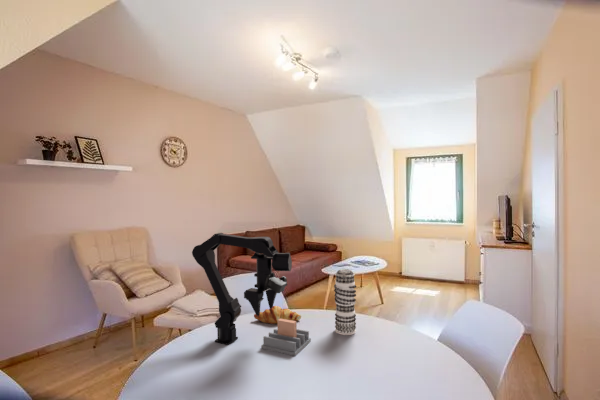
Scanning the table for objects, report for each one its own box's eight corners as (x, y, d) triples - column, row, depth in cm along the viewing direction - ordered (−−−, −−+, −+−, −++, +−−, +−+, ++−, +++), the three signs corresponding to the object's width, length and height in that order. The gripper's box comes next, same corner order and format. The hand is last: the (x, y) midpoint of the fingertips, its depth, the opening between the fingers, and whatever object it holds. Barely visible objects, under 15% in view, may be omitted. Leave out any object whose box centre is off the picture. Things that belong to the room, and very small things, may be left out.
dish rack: (261, 348, 120) (261, 337, 120) (279, 334, 131) (278, 324, 131) (295, 355, 113) (295, 344, 113) (310, 341, 125) (310, 330, 125)
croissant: (300, 325, 150) (300, 307, 153) (301, 322, 141) (301, 303, 144) (254, 325, 149) (255, 307, 153) (252, 322, 140) (253, 303, 144)
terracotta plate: (277, 341, 123) (277, 320, 123) (280, 339, 125) (280, 318, 125) (294, 344, 120) (293, 323, 120) (296, 342, 122) (296, 321, 122)
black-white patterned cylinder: (353, 325, 140) (352, 267, 140) (359, 334, 131) (359, 272, 131) (332, 327, 139) (331, 268, 139) (337, 336, 129) (336, 273, 129)
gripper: (269, 277, 112) (270, 323, 112) (294, 267, 128) (294, 307, 128) (242, 274, 117) (243, 318, 117) (270, 265, 133) (270, 303, 133)
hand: (264, 311), depth 124 cm, fingers open, 9 cm apart
